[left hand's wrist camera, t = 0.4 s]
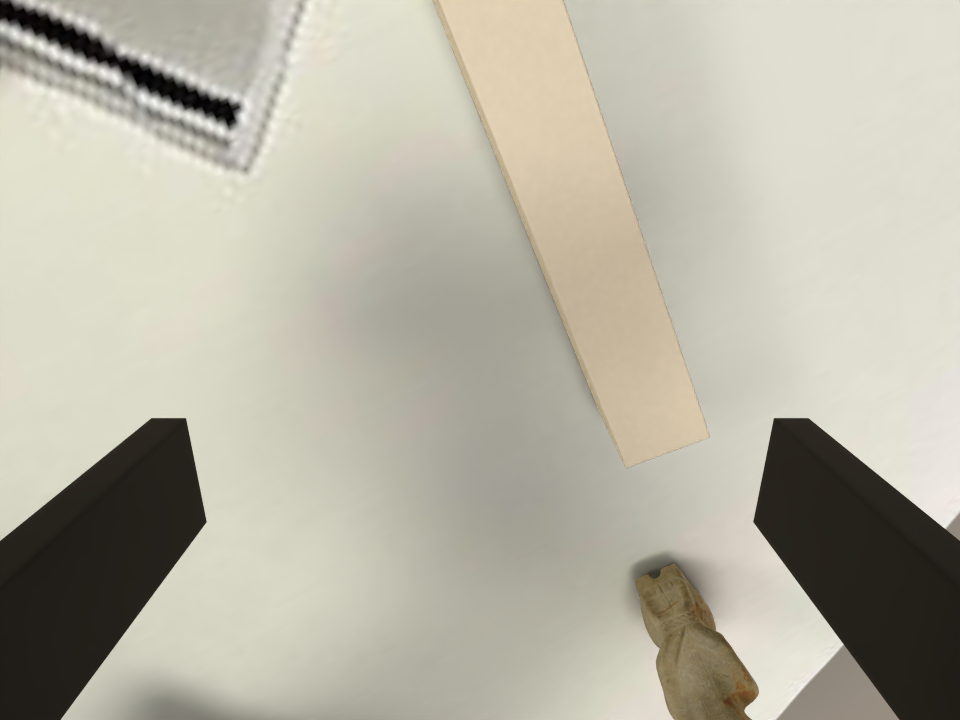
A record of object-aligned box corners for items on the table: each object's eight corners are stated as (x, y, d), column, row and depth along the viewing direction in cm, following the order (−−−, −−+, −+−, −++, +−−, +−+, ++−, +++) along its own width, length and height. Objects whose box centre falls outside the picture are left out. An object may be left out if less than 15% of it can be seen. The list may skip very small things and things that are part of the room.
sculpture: (647, 635, 47) (720, 845, 32) (616, 571, 44) (680, 766, 30) (715, 611, 46) (821, 815, 32) (687, 545, 43) (787, 732, 29)
